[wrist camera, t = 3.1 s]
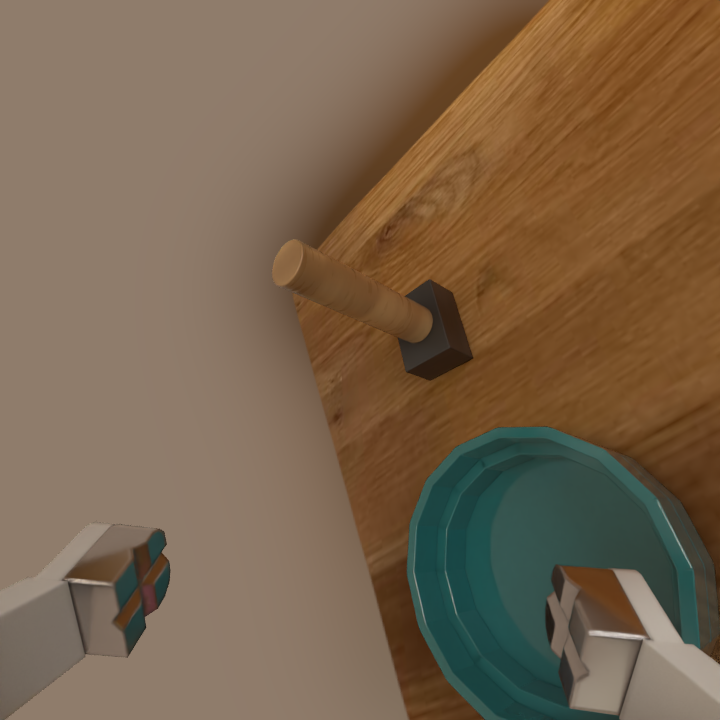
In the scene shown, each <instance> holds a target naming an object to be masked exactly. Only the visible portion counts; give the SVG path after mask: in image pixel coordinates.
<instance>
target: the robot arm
mask: <svg viewBox="0 0 720 720" xmlns="http://www.w3.org/2000/svg"><path fill="white" fill-rule="evenodd" d="M166 545H167V543H166V538H165V533H164V531H162V530H160V529H157V528H148V527H140V526H131V525H122V524H109V523H101V522H93V523H91V524H88V525H87V526H86V527H85V528H84V529H83V530H82V531H81V532H80V533H79V534H78V535H77V536H76V537H75V538H74V539H73V540H72V541H71V542H70V543H69V544H68V545H67V546H66V547H65V548H64V549H63V550H62V551H61V552H60V553H59V554H58V555H57V556H56V557H55V558H54V559H53V560H52V561H51V562H50V563H49V564H48V565H47V566H46V567H45V568H44V569H43V570H42V571H41V572H40V573H39V574H38V575H37V576H36V577H35V578H30V577H29V578H25V579H23V580H21V581H19V582H17V583H15V584H13V585H11V586H9V587H7V588H5V589H2V590H0V720H5V719H6V718H7V717H9V716H10V715H11V714H12V713H14V712H15V711H16V710H18V709H19V708H20V707H22V706H23V705H24V704H25V703H27V702H28V701H29V700H30V699H32V698H33V697H34V696H36V695H37V694H38V693H40V692H41V691H42V690H43V689H45V688H46V687H47V686H49V685H50V684H51V683H52V682H54V681H55V680H56V679H57V678H59V677H60V676H61V675H63V674H64V673H65V672H66V671H68V670H69V669H70V668H72V667H73V666H74V665H75V664H77V663H78V662H79V661H81V660H82V659H83V658H84V657H85V654H90V655H102V656H115V657H128V656H129V654H130V653H131V651H132V650H133V648H134V646H135V645H136V643H137V641H138V640H139V638H140V636H141V635H142V633H143V632H144V630H145V629H146V623H145V616H147V615H149V614H150V613H152V612H153V611H155V610H156V609H158V607H159V605H160V604H161V602H162V600H163V598H164V597H165V594H166V591H167V588H168V585H169V581H170V564H169V560H168V559H167V558H166V557H165V556H164V555H163V554H162V550H163V549H164V547H165V546H166ZM550 580H551V583H552V585H553V588H554V592H552V593H551V594H550V595H549V596H548V597H547V599H546V606H545V628H546V633H547V638H548V642H549V645H550V648H551V650H552V651H553V652H554V653H555V654H556V655H557V656H558V657H559V658H560V659H561V661H560V665H559V670H558V674H559V677H560V680H561V683H562V686H563V689H564V693H565V696H566V699H567V702H568V705H569V708H570V709H577V710H584V711H591V712H598V713H605V714H612V715H618V716H620V717H619V719H620V720H720V664H719V663H717V662H716V661H715V660H713V659H712V658H711V657H709V656H708V655H706V654H705V653H704V652H702V651H701V650H700V649H698V648H697V647H696V646H694V645H692V644H684V642H683V640H682V639H681V637H680V636H679V634H678V632H677V631H676V629H675V628H674V626H673V624H672V623H671V621H670V620H669V618H668V616H667V615H666V613H665V612H664V610H663V608H662V607H661V605H660V604H659V602H658V600H657V599H656V597H655V596H654V594H653V592H652V591H651V589H650V588H649V586H648V585H647V583H646V581H645V580H644V578H643V577H642V575H641V574H640V573H639V572H638V571H636V570H631V569H617V568H608V569H607V568H598V567H586V566H574V565H562V564H556V565H555V566H554V568H553V570H552V575H551V579H550Z"/></svg>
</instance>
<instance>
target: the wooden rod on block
mask: <svg viewBox="0 0 720 720" xmlns="http://www.w3.org/2000/svg"><path fill="white" fill-rule="evenodd" d="M272 278H273V281H274V283H275V284H276V285H277V286H279V287H281V288H284V289H286V290H288V291H291V292H293V293H295V294H298V295H300V296H302V297H305V298H307V299H309V300H312V301H314V302H316V303H319V304H321V305H323V306H326V307H328V308H330V309H333V310H335V311H337V312H340V313H342V314H344V315H347V316H349V317H352V318H354V319H356V320H359V321H361V322H363V323H366V324H368V325H370V326H373V327H375V328H377V329H380V330H382V331H384V332H387V333H389V334H391V335H394V336H396V337H398V340H399V344H400V349H401V353H402V357H403V362H404V366H405V370H406V372H407V373H410V374H413V375H416V376H419V377H421V378H424V379H427V380H432V379H434V378H436V377H438V376H440V375H441V374H443V373H445V372H447V371H449V370H451V369H453V368H455V367H457V366H459V365H461V364H462V363H464V362H466V361H468V360H470V359H472V358H473V357H472V354H471V351H470V348H469V345H468V341H467V338H466V335H465V332H464V329H463V326H462V322H461V319H460V316H459V313H458V310H457V307H456V303H455V300H454V297H453V294H452V292H450V291H449V290H447V289H445V288H444V287H442V286H440V285H439V284H437V283H435V282H434V281H432V280H430V279H429V280H428V281H426V282H425V283H423V284H422V285H420V286H419V287H417V288H416V289H414V290H413V291H411V292H410V293H409V294H407V295H406V296H403V295H401V294H399V293H398V292H396V291H394V290H392V289H390V288H388V287H386V286H384V285H382V284H380V283H379V282H377V281H375V280H373V279H371V278H369V277H367V276H365V275H363V274H362V273H360V272H358V271H356V270H354V269H352V268H350V267H348V266H346V265H345V264H343V263H341V262H339V261H337V260H335V259H333V258H331V257H329V256H327V255H326V254H324V253H322V252H320V251H318V250H316V249H314V248H312V247H310V246H308V245H307V244H305V243H303V242H301V241H299V240H295V239H294V240H290V241H288V242H287V243H286V244H284V245H283V247H282V248H281V249H280V251H279V252H278V254H277V256H276V258H275V261H274V264H273V270H272Z"/></svg>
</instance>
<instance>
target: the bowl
mask: <svg viewBox="0 0 720 720" xmlns="http://www.w3.org/2000/svg"><path fill="white" fill-rule="evenodd" d="M556 564H562V565H574V566H586V567H598V568H607V569H608V568H617V569H631V570H636V571H638V572H639V573H640V574H641V575H642V577H643V578H644V580H645V581H646V583H647V585H648V586H649V588H650V589H651V591H652V592H653V594H654V596H655V597H656V599H657V600H658V602H659V604H660V605H661V607H662V608H663V610H664V612H665V613H666V615H667V616H668V618H669V620H670V621H671V623H672V624H673V626H674V628H675V629H676V631H677V632H678V634H679V636H680V637H681V639H682V640H683V642H684V644H692V645H694V646H696V647H697V648H698V649H700V650H701V651H702V652H704V653H705V654H706V655H708V656H709V657H710V656H711V654H712V652H713V649H714V647H715V644H716V642H717V640H718V637H719V635H720V622H719V612H718V601H717V591H716V580H715V569H714V564H713V561H712V559H711V557H710V555H709V553H708V551H707V550H706V548H705V546H704V544H703V542H702V540H701V538H700V536H699V535H698V533H697V531H696V529H695V527H694V525H693V523H692V521H691V520H690V518H689V516H688V514H687V512H686V510H685V508H684V506H683V505H682V503H681V502H680V501H679V499H677V498H676V497H675V496H674V495H673V494H672V493H671V492H670V491H669V490H667V489H666V488H665V487H664V486H663V485H662V484H661V483H660V482H658V481H657V480H656V479H655V478H654V477H653V476H652V475H651V474H649V473H648V472H647V471H646V470H645V469H644V468H643V467H642V466H641V465H639V464H638V463H637V462H636V461H635V460H634V459H632V458H631V457H628V456H626V455H623V454H621V453H618V452H616V451H613V450H611V449H608V448H606V447H603V446H600V445H598V444H595V443H593V442H590V441H588V440H585V439H583V438H580V437H577V436H574V435H571V434H568V433H566V432H563V431H560V430H557V429H554V428H551V427H498V428H495V429H493V430H491V431H489V432H486V433H484V434H482V435H480V436H478V437H476V438H474V439H471V440H469V441H467V442H465V443H463V444H461V445H458V446H457V447H455V448H454V449H453V451H452V452H451V453H450V454H449V455H448V456H447V457H446V458H445V459H444V461H443V462H442V463H441V464H440V465H439V466H438V467H437V468H436V470H435V471H434V472H433V473H432V474H431V475H430V476H429V477H428V478H427V480H426V482H425V485H424V487H423V490H422V492H421V495H420V497H419V500H418V503H417V505H416V508H415V510H414V513H413V515H412V518H411V520H410V524H409V541H408V557H407V577H408V582H409V586H410V591H411V595H412V600H413V604H414V609H415V613H416V618H417V623H418V626H419V629H420V631H421V633H422V635H423V637H424V639H425V641H426V643H427V644H428V646H429V648H430V650H431V652H432V654H433V656H434V658H435V659H436V661H437V663H438V665H439V667H440V669H441V671H442V673H443V675H444V676H445V678H446V680H447V681H448V682H449V683H450V685H451V686H452V687H453V688H454V689H455V690H456V691H457V692H458V693H459V694H460V695H461V696H462V697H463V698H464V699H465V700H466V701H467V702H468V703H469V704H470V705H471V706H472V707H473V708H474V709H475V710H476V711H477V712H478V713H479V714H480V715H481V716H482V717H483V718H484V719H485V720H620V719H619V717H620V716H618V715H612V714H605V713H598V712H591V711H584V710H577V709H570V708H569V705H568V702H567V699H566V696H565V693H564V689H563V686H562V683H561V680H560V677H559V674H558V670H559V665H560V661H561V659H560V658H559V657H558V656H557V655H556V654H555V653H554V652H553V651H552V650H551V648H550V645H549V642H548V638H547V633H546V628H545V606H546V599H547V597H548V596H549V595H550V594H551V593H552V592H554V588H553V585H552V583H551V580H550V579H551V575H552V570H553V568H554V566H555V565H556Z"/></svg>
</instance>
